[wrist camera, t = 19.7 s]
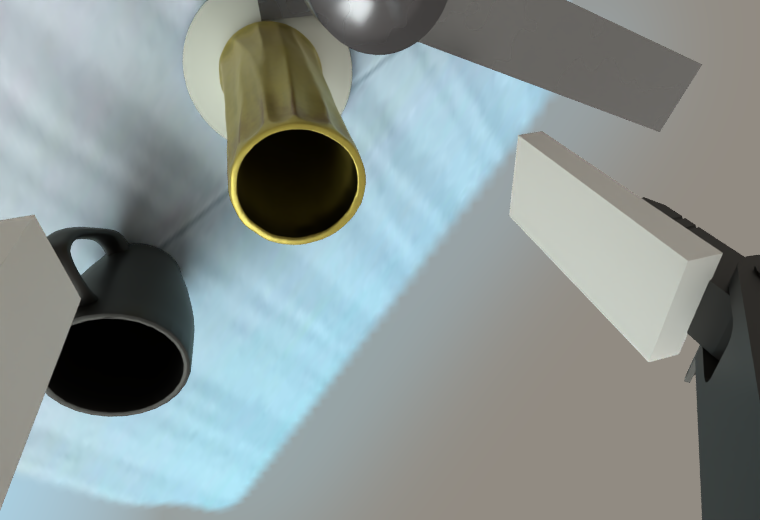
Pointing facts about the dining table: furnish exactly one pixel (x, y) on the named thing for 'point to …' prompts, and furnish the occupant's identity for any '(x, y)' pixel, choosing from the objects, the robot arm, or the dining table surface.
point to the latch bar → (526, 47)
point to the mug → (123, 328)
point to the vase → (286, 138)
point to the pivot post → (282, 9)
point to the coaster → (218, 24)
